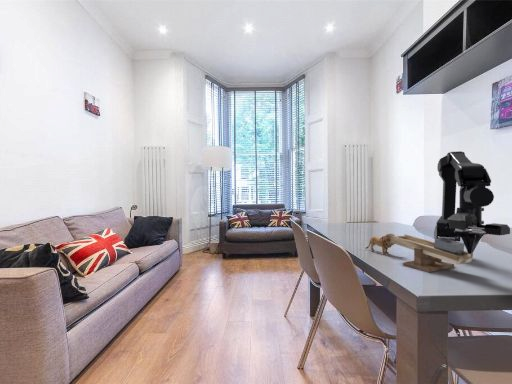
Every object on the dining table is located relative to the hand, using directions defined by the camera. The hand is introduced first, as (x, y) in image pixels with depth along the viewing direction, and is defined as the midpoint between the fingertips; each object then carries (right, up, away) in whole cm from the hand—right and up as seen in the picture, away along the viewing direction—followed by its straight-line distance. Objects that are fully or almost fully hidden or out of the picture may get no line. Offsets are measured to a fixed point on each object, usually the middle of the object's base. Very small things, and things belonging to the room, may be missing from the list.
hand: (470, 253), depth 93 cm
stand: (-6, -7, +13) cm, 16 cm away
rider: (-3, -2, +6) cm, 7 cm away
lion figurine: (-13, -7, +35) cm, 39 cm away
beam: (-6, -1, +13) cm, 14 cm away
